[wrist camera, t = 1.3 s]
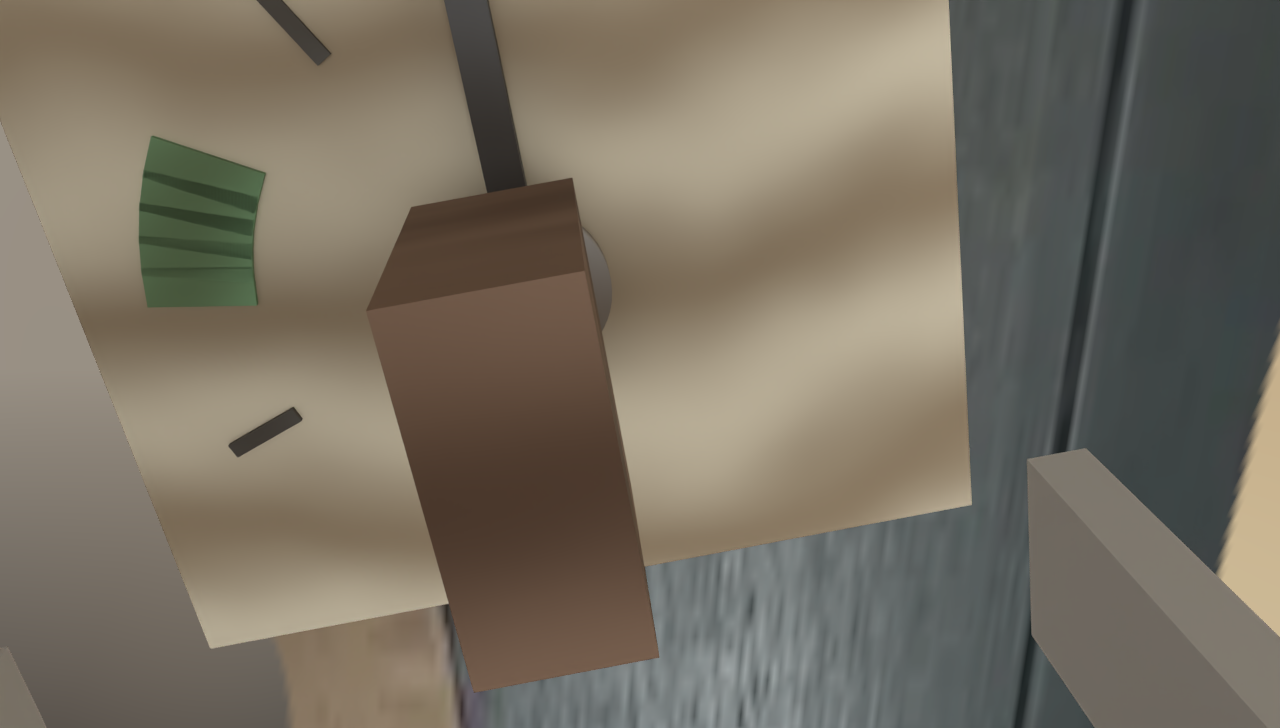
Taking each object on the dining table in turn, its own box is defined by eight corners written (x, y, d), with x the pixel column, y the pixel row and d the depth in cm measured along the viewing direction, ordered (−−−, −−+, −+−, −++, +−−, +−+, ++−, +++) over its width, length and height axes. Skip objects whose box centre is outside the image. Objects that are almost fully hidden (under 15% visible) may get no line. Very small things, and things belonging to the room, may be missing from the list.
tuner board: (-12, -22, 25) (-59, -17, 23) (910, -186, 25) (942, -195, 23) (229, 606, 32) (208, 652, 30) (946, 471, 33) (974, 507, 31)
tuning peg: (358, -65, 23) (230, -52, 13) (541, -98, 23) (544, -108, 14) (480, 426, 28) (451, 696, 18) (632, 397, 28) (682, 653, 18)
